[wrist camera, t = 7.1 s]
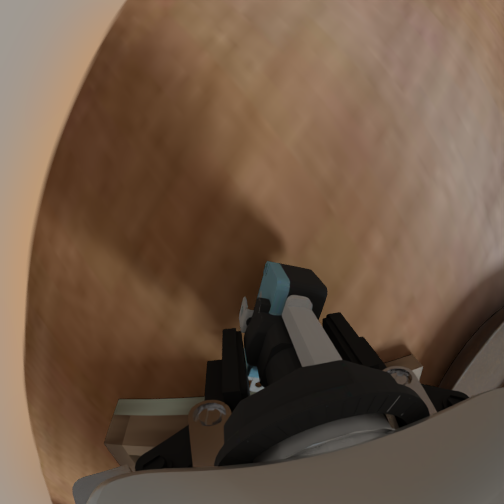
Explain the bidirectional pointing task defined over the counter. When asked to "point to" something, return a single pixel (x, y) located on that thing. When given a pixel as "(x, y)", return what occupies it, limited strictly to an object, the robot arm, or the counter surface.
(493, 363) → the plant saucer
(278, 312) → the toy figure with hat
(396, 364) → the wooden compartment tray
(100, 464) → the counter surface
